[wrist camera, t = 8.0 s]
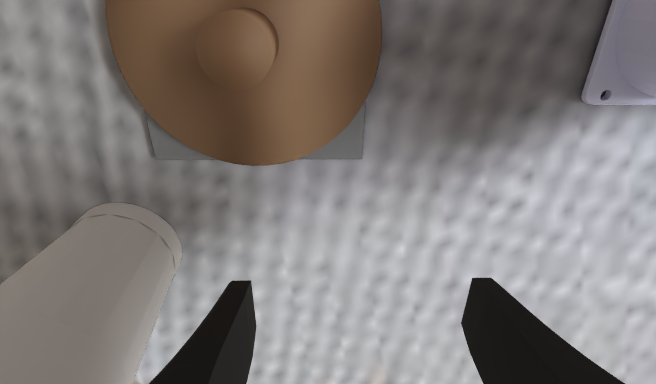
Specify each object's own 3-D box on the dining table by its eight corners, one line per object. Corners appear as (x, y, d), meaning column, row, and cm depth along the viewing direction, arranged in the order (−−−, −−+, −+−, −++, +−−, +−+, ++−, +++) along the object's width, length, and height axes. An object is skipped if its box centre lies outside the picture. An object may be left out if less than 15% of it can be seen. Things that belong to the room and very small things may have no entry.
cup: (31, 210, 22) (-241, 420, 11) (156, 173, 21) (-10, 364, 10) (107, 306, 25) (-43, 533, 15) (216, 279, 24) (140, 499, 14)
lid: (397, -114, 15) (420, -143, 11) (365, 164, 20) (374, 198, 17) (82, -140, 14) (12, -178, 11) (140, 155, 20) (105, 188, 17)
